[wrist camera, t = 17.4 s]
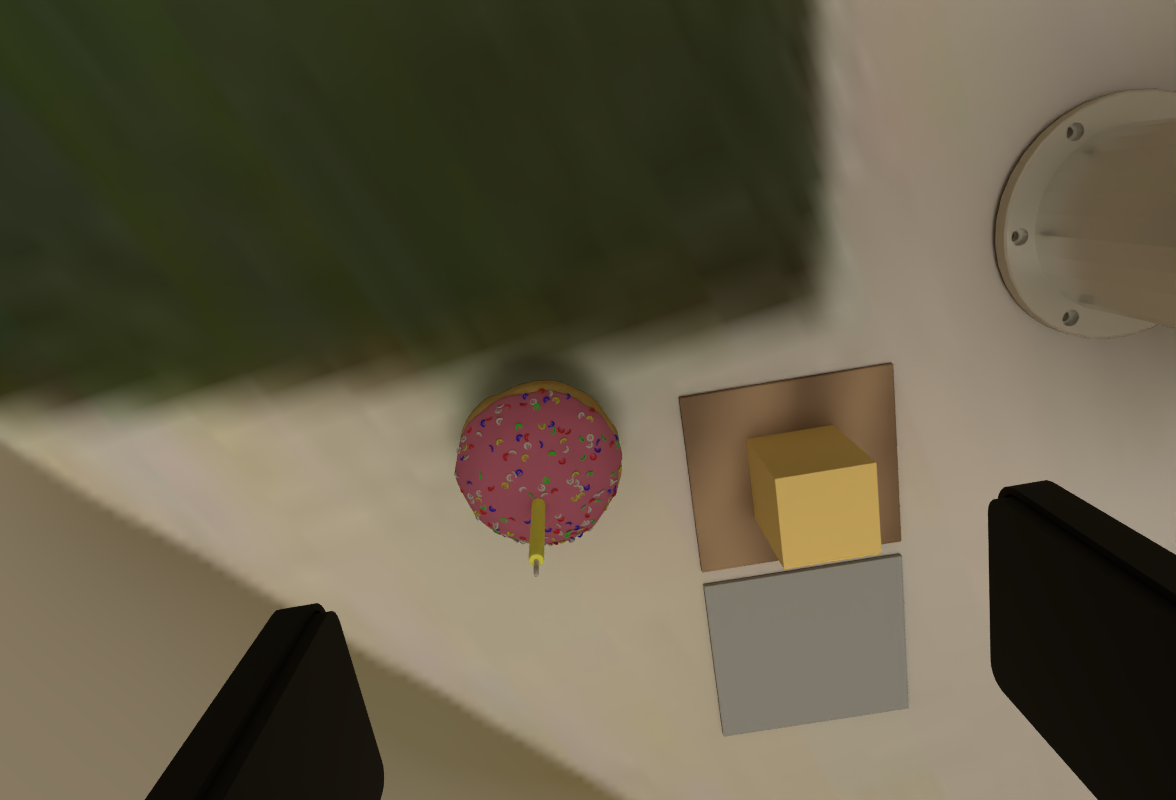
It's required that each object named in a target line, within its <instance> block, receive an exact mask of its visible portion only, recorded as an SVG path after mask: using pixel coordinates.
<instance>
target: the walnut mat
mask: <svg viewBox="0 0 1176 800" xmlns="http://www.w3.org/2000/svg"><path fill="white" fill-rule="evenodd" d="M679 402H680V410H681V418H682V425H683V433H684V441H685V448H686V456H687V463H688V471H689V479H690V486H691V494H692V502H693V509H694V517H695V524H696V532H697V540H698V547H699V555H700V563H701V570H702V572H708V571H715V570H721V569H727V568H734V567H740V566H746V565H753V564H759V563H766V562H772V561H778V558H777V556H776V554H775V553H774V551H773V549H772V547H771V546H770V544H769V542H768V540H767V539H766V537H765V535H764V533H763V532H762V530H761V528H760V526H759V525H758V523H757V521H756V519H755V514H754V505H753V496H752V487H751V478H750V469H749V460H748V451H747V442H746V439H750V438H756V437H762V436H768V435H775V434H781V433H787V432H793V431H799V430H805V429H811V428H817V427H823V426H829V425H834V426H835V427H836V428H838V429H839V430H840V431H841V432H842V433H843V434H844V435H846V436H847V437H848V438H849V439H850V440H851V441H852V442H854V443H855V444H856V445H857V446H858V447H859V448H860V449H861V450H863V451H864V452H865V453H866V454H867V455H868V456H869V457H871V458H872V459H873V460H874V461H875V462H876V465H877V482H878V499H879V517H880V534H881V544H887V543H893V542H899V541H901V526H900V504H899V482H898V459H897V437H896V415H895V393H894V371H893V364H892V363H887V364H881V365H875V366H869V367H862V368H856V369H850V370H844V371H838V372H832V373H825V374H819V375H813V376H807V377H801V378H794V379H788V380H782V381H776V382H770V383H764V384H757V385H751V386H745V387H739V388H733V389H726V390H720V391H714V392H708V393H702V394H695V395H689V396H683V397H679Z"/></svg>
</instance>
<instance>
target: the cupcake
mask: <svg viewBox="0 0 1176 800" xmlns="http://www.w3.org/2000/svg"><path fill="white" fill-rule="evenodd" d="M456 451H457V453H458V456H457V462H456V467H455V472H454V475H455V476H456V480H457V483H458V485H459V487H460V489H461V492H462V493H463V495H464V496H465V498H466V500H467V502H468V504H469V505H470V507H471V509H472V510H473V512H474V514H475V516H476V519H477V520H479V519H480V520H481V521H482V522H483V523H484V524H485V525H486V526H488V527H489V528H491V529H492V530H493V531H494V532H495V533H497V534H500V535H503V536H504V537H509V538H511V539H513V540H514V541H515V542H517V543H519V542H520V543H521V544H525V542H526V543H530V546H529V562H530V564H531V565H533V566H534V576H535V577H538V573H539V566H540V565H541V564H542V563H543V562H544V545H546V544H547V545H549V546H552V543H553V544H555V545H558V542H559V543H564V542H566V541H567V540H569V542H570V543H572V542H574V541H575V538H574V537H576V536H578V537H581V536H582V535H583V533H584V532H586V531H591V530H592V528H593V526H594V525H595V524H596V523H597V521H598V520H599V518H600V517H601V515H602V514H603V512H604V511H606V510H607V506H608V505H609V503H610V501H611V500H612V498H613V497H614V496H615V495H616V493H617V488H618V484H619V481H620V477H621V469H622V464H621V460H622V452H621V447H620V444H619V438H618V433H617V430H616V428H615V427H614V425H613V424H612V422H611V421H610V420H609V418H608V417H607V415H606V414H605V413H604V411H603V410H602V408H601V407H600V405H599V404H598V403H597V402H596V401H595V400H594V399H593V398H592V397H591V396H590V395H588V394H586V393H584V392H582V391H579V390H577V389H575V388H573V387H571V386H569V385H567V384H564V383H562V382H559V381H553V380H538V381H532V382H528V383H524V384H520V385H517V386H515V387H512V388H510V389H508V390H506V391H504V392H502V393H500V394H497V395H495V396H491V397H488V398H486V399H485V400H484V401H482V402H481V403H480V404H479V405H478V406H477V407H476V408H475V409H474V410H473V412H472V413H471V414H470V416H469V417H468V419H467V420H466V422H465V424H464V427H463V430H462V434H461V440H460V444H459V447H458V448H457V449H456ZM579 535H580V536H579ZM570 539H571V540H572V539H573V541H571V540H570ZM521 541H522V542H521Z"/></svg>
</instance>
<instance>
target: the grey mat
mask: <svg viewBox="0 0 1176 800" xmlns="http://www.w3.org/2000/svg"><path fill="white" fill-rule="evenodd" d="M703 585H704V593H705V601H706V608H707V616H708V624H709V631H710V639H711V646H712V654H713V662H714V669H715V677H716V685H717V692H718V700H719V707H720V715H721V723H722V730H723V735H724V736H730V735H737V734H743V733H750V732H756V731H763V730H770V729H776V728H783V727H789V726H796V725H802V724H809V723H815V722H822V721H829V720H835V719H842V718H848V717H855V716H861V715H868V714H874V713H881V712H887V711H894V710H901V709H907V708H909V703H908V681H907V659H906V637H905V615H904V592H903V570H902V556H901V555H900V554H895V555H888V556H882V557H875V558H869V559H863V560H856V561H850V562H844V563H837V564H831V565H824V566H818V567H812V568H805V569H799V570H793V571H786V572H780V573H773V574H767V575H761V576H754V577H748V578H741V579H735V580H729V581H722V582H716V583H710V584H703Z"/></svg>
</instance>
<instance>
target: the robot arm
mask: <svg viewBox="0 0 1176 800" xmlns="http://www.w3.org/2000/svg"><path fill="white" fill-rule="evenodd" d="M1067 132H1068V133H1067ZM1066 133H1067V134H1066ZM1013 233H1014V237H1013V239H1011V238H1012V234H1013ZM995 247H996V253H997V260H998V266H999V269H1000V271H1001V274H1002V277H1003V280H1004V282H1005V285H1006V287H1007V288H1008V290H1009V291H1010V293H1011V294H1012V296H1013V298H1014V299H1015V301H1016V302H1017V303H1018V304H1019V305H1020V306H1021V307H1022V308H1023V309H1024V310H1025V311H1026V312H1027V313H1028V314H1029V315H1030V316H1031V317H1033V318H1034V319H1036V320H1038V321H1039V322H1041V323H1042V324H1044V325H1046V326H1047V327H1050V328H1053V329H1056V330H1058V331H1061V332H1064V333H1067V334H1072V335H1076V336H1080V337H1085V338H1107V339H1109V338H1115V337H1121V336H1127V335H1132V334H1135V333H1138V332H1141V331H1144V330H1146V329H1149V328H1152V327H1154V326H1156V325H1158V324H1161V325H1165V326H1170V327H1174V328H1176V92H1174V91H1167V90H1160V89H1141V90H1129V91H1124V92H1119V93H1114V94H1109V95H1105V96H1102V97H1100V98H1097V99H1094V100H1092V101H1089V102H1086V103H1083V104H1082V105H1080V106H1078V107H1077V108H1075V109H1073V110H1071V111H1070V112H1068V113H1066V114H1065V115H1063V116H1061V117H1060V118H1059V119H1058V120H1056V121H1055V122H1054V123H1053V124H1052V125H1050V126H1049V127H1048V128H1047V129H1046V130H1044V131H1043V132H1042V133H1041V134H1040V135H1039V136H1038V137H1037V139H1036V140H1035V141H1034V142H1033V143H1032V144H1031V146H1030V147H1029V148H1028V149H1027V150H1026V151H1025V153H1024V154H1023V156H1022V157H1021V159H1020V161H1019V162H1018V164H1017V165H1016V167H1015V169H1014V170H1013V172H1012V173H1011V175H1010V178H1009V180H1008V183H1007V185H1006V188H1005V190H1004V192H1003V195H1002V197H1001V201H1000V206H999V210H998V215H997V219H996V235H995ZM988 539H989V596H990V652H991V667H992V671H993V675H994V677H995V680H996V682H997V684H998V685H999V687H1000V688H1001V690H1002V691H1003V692H1004V694H1005V695H1006V696H1007V697H1008V698H1009V699H1010V700H1011V702H1012V703H1013V704H1014V705H1015V706H1016V707H1017V708H1018V709H1019V711H1020V712H1021V713H1022V714H1023V715H1024V716H1025V717H1026V719H1027V720H1028V721H1029V722H1030V723H1031V724H1032V725H1033V727H1034V728H1035V729H1036V730H1037V731H1038V732H1039V733H1040V734H1041V736H1042V737H1043V738H1044V739H1045V740H1046V741H1047V742H1048V744H1049V745H1050V746H1051V747H1052V748H1053V749H1054V750H1055V752H1056V753H1057V754H1058V755H1059V756H1060V757H1061V758H1062V759H1063V761H1064V762H1065V763H1066V764H1067V765H1068V766H1069V767H1070V769H1071V770H1072V771H1073V772H1074V773H1075V774H1076V775H1077V777H1078V778H1079V779H1080V780H1081V781H1082V782H1083V783H1084V784H1085V786H1086V787H1087V788H1088V789H1089V790H1090V791H1091V792H1092V794H1093V795H1094V796H1095V797H1096V798H1097V799H1098V800H1176V555H1175V554H1173V553H1172V552H1170V551H1168V550H1167V549H1165V548H1163V547H1162V546H1160V545H1158V544H1156V543H1155V542H1153V541H1151V540H1150V539H1148V538H1146V537H1145V536H1143V535H1141V534H1140V533H1138V532H1136V531H1134V530H1133V529H1131V528H1129V527H1128V526H1126V525H1124V524H1123V523H1121V522H1119V521H1118V520H1116V519H1114V518H1113V517H1111V516H1109V515H1107V514H1106V513H1104V512H1102V511H1101V510H1099V509H1097V508H1096V507H1094V506H1092V505H1091V504H1089V503H1087V502H1086V501H1084V500H1082V499H1080V498H1079V497H1077V496H1075V495H1074V494H1072V493H1070V492H1069V491H1067V490H1065V489H1064V488H1062V487H1060V486H1058V485H1057V484H1055V483H1053V482H1051V481H1048V480H1045V481H1038V482H1033V483H1027V484H1021V485H1015V486H1009V487H1004V488H1003V489H1002V490H1001V491H1000V493H999V496H998V499H994V500H992V501H991V502H990V504H989V507H988ZM383 787H384V769H383V764H382V760H381V756H380V753H379V750H378V747H377V743H376V740H375V737H374V733H373V730H372V727H371V723H370V720H369V717H368V713H367V710H366V707H365V704H364V700H363V697H362V693H361V690H360V687H359V684H358V681H357V677H356V674H355V670H354V667H353V664H352V660H351V657H350V654H349V650H348V647H347V644H346V641H345V637H344V634H343V631H342V627H341V624H340V621H339V618H338V616H337V615H336V613H335V612H333V611H329V612H325V610H324V608H323V607H322V605H320V604H318V603H315V604H310V605H304V606H298V607H292V608H286V609H280V610H276V611H275V612H274V613H273V615H272V616H271V617H270V619H269V620H268V622H267V623H266V625H265V626H264V628H263V629H262V631H261V632H260V633H259V635H258V636H257V638H256V639H255V641H254V642H253V644H252V645H251V646H250V648H249V649H248V651H247V652H246V654H245V655H244V657H243V658H242V660H241V661H240V662H239V664H238V665H237V667H236V668H235V670H234V671H233V673H232V674H231V675H230V677H229V679H228V680H227V681H226V683H225V684H224V686H223V687H222V688H221V690H220V691H219V693H218V695H217V696H216V697H215V699H214V700H213V702H212V703H211V704H210V706H209V707H208V709H207V710H206V712H205V713H204V715H203V716H202V718H201V719H200V721H199V722H198V723H197V725H196V726H195V728H194V729H193V731H192V732H191V733H190V735H189V737H188V738H187V739H186V741H185V742H184V744H183V745H182V747H181V748H180V749H179V751H178V752H177V754H176V755H175V757H174V758H173V760H172V761H171V762H170V764H169V765H168V767H167V768H166V770H165V771H164V773H163V774H162V776H161V777H160V778H159V780H158V781H157V783H156V784H155V786H154V787H153V789H152V790H151V792H150V793H149V794H148V796H147V797H146V799H145V800H380V799H381V795H382V792H383Z"/></svg>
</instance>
